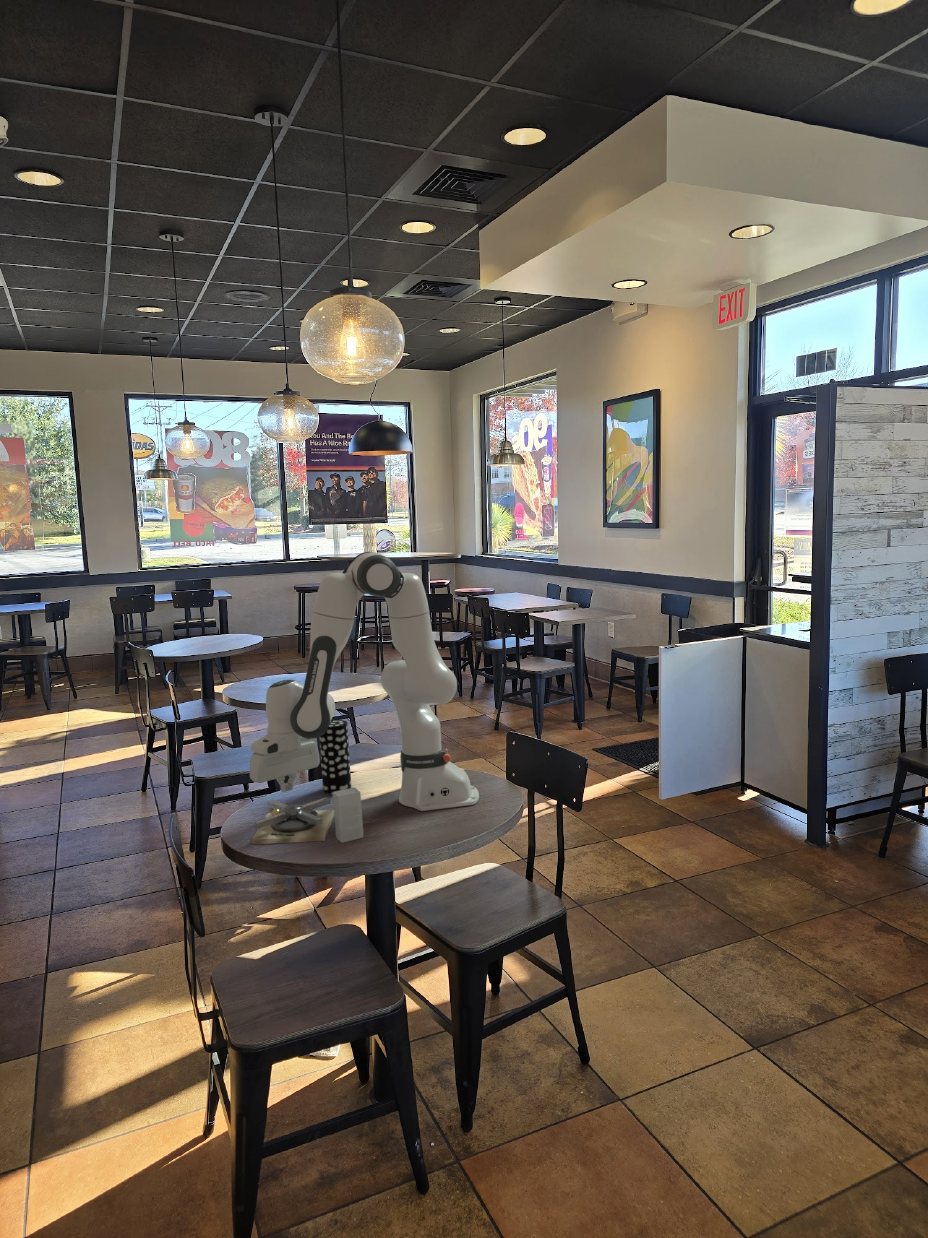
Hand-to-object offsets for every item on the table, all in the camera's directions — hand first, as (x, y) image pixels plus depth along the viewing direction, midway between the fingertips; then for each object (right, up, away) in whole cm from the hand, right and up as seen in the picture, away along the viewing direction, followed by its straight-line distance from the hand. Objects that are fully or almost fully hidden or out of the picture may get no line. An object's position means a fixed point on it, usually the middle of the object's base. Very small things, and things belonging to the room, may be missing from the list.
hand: (287, 790), depth 215 cm
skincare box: (+19, -9, -16) cm, 26 cm away
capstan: (+4, -7, -8) cm, 11 cm away
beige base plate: (+4, -8, -8) cm, 12 cm away
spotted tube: (+10, -4, +21) cm, 23 cm away
